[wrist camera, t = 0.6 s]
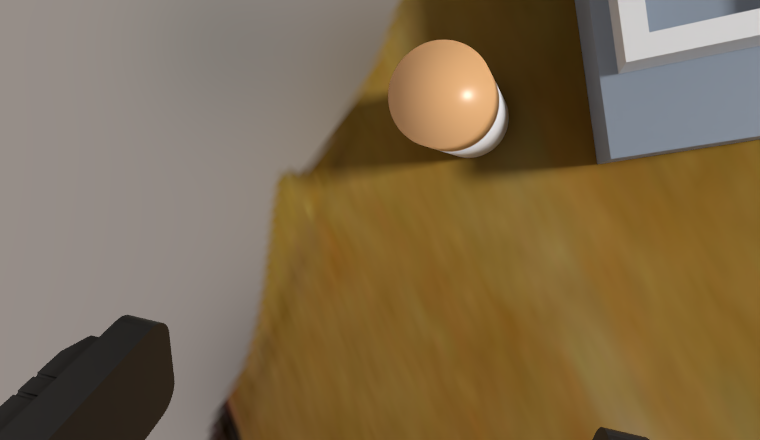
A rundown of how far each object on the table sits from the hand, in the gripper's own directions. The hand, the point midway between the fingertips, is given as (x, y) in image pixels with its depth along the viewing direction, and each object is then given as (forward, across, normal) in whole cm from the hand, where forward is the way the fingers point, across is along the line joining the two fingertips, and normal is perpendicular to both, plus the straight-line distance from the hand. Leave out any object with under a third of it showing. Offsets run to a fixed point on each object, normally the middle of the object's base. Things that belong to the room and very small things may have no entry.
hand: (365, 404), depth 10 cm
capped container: (+26, -1, +2) cm, 26 cm away
